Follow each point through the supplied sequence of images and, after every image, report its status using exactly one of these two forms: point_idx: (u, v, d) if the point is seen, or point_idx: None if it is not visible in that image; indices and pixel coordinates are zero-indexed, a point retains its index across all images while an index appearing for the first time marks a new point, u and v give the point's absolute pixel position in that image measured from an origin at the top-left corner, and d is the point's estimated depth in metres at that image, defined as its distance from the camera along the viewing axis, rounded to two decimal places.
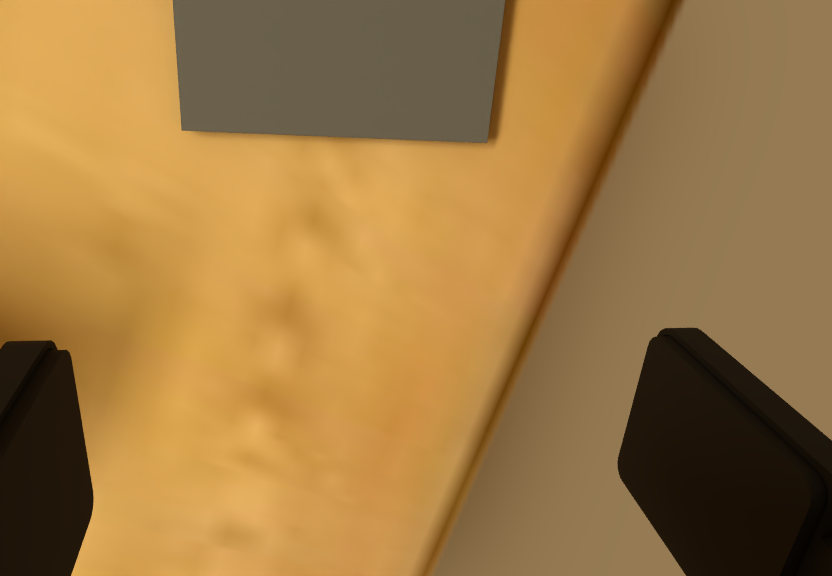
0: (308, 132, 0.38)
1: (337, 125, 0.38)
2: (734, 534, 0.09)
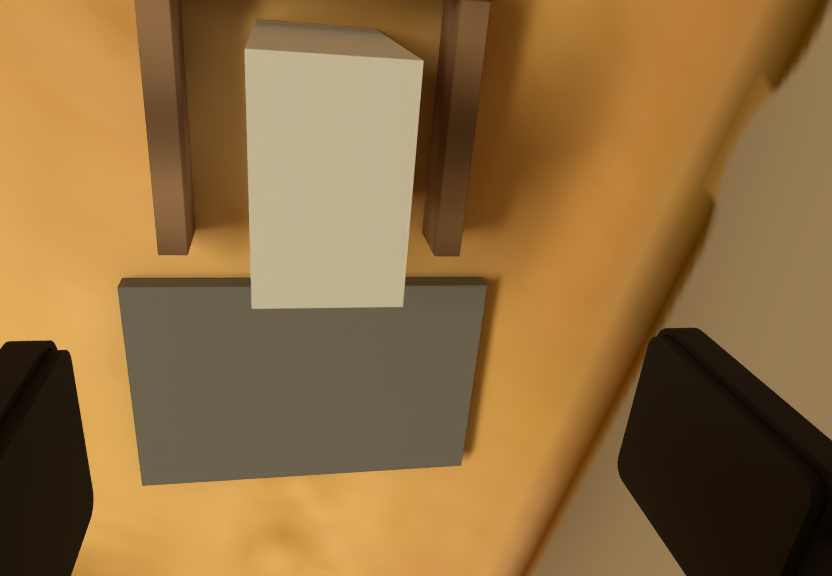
0: (275, 474, 0.37)
1: (305, 466, 0.37)
2: (734, 534, 0.09)
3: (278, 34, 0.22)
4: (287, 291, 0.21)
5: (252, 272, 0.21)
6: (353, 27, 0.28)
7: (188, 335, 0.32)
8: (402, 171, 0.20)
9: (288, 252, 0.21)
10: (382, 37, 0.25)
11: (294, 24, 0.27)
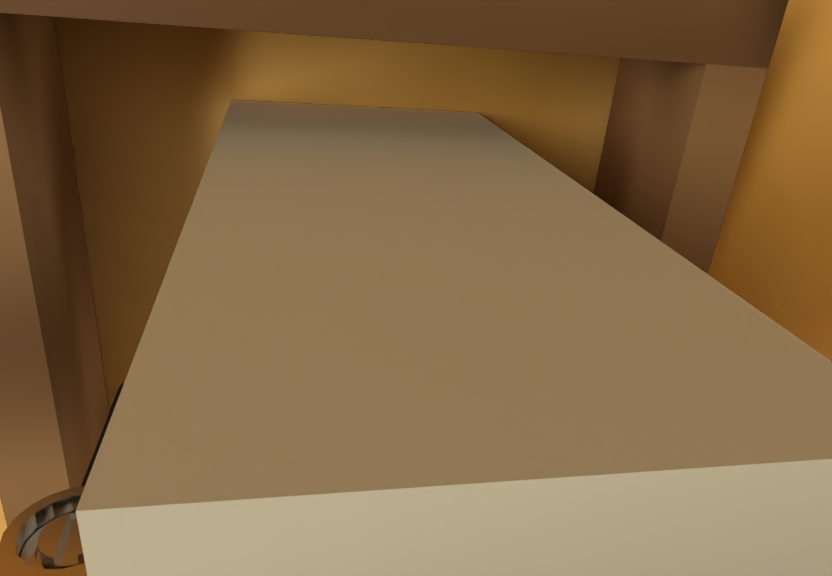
0: None
1: None
2: None
3: (279, 195, 0.07)
4: None
5: None
6: (438, 114, 0.13)
7: None
8: None
9: None
10: (538, 165, 0.10)
11: (315, 116, 0.12)
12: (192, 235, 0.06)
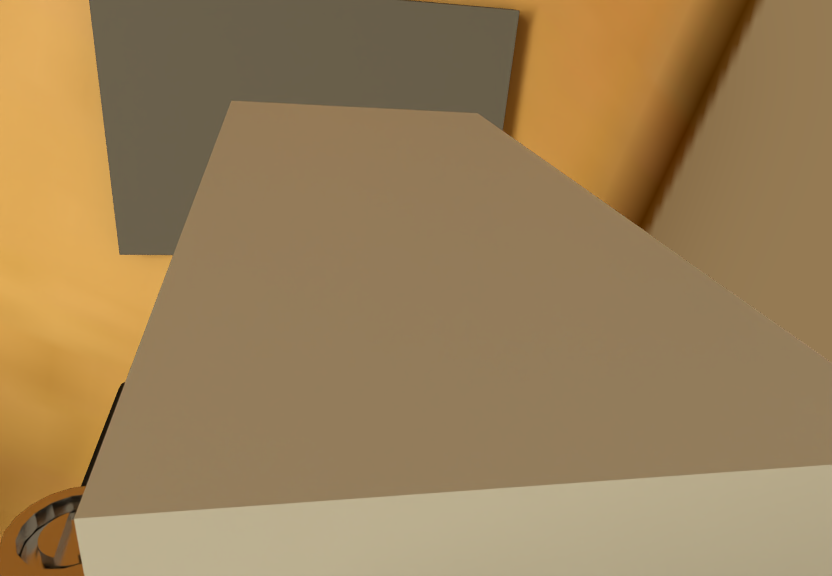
0: None
1: None
2: None
3: (279, 197, 0.07)
4: None
5: None
6: (438, 115, 0.13)
7: (171, 49, 0.27)
8: None
9: None
10: (538, 166, 0.10)
11: (315, 117, 0.12)
12: (191, 237, 0.06)
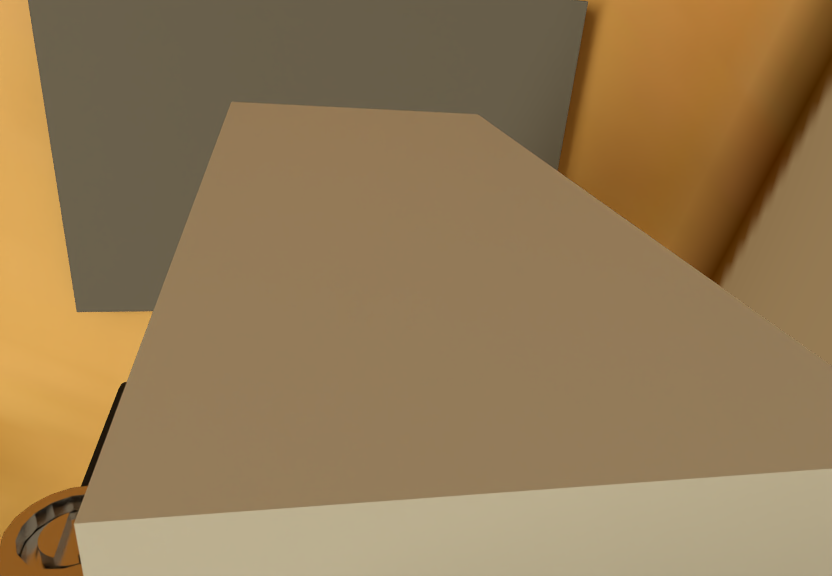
0: None
1: None
2: None
3: (279, 199, 0.07)
4: None
5: None
6: (439, 116, 0.13)
7: (137, 52, 0.21)
8: None
9: None
10: (539, 168, 0.10)
11: (315, 118, 0.12)
12: (192, 240, 0.06)
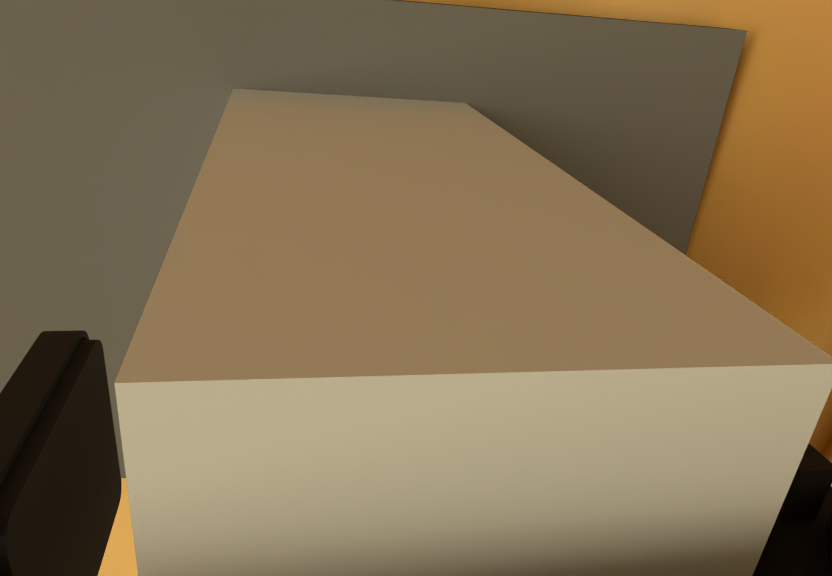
0: None
1: None
2: None
3: (277, 168, 0.08)
4: None
5: None
6: (428, 104, 0.14)
7: (54, 115, 0.13)
8: None
9: None
10: (517, 148, 0.11)
11: (311, 103, 0.13)
12: (200, 197, 0.07)
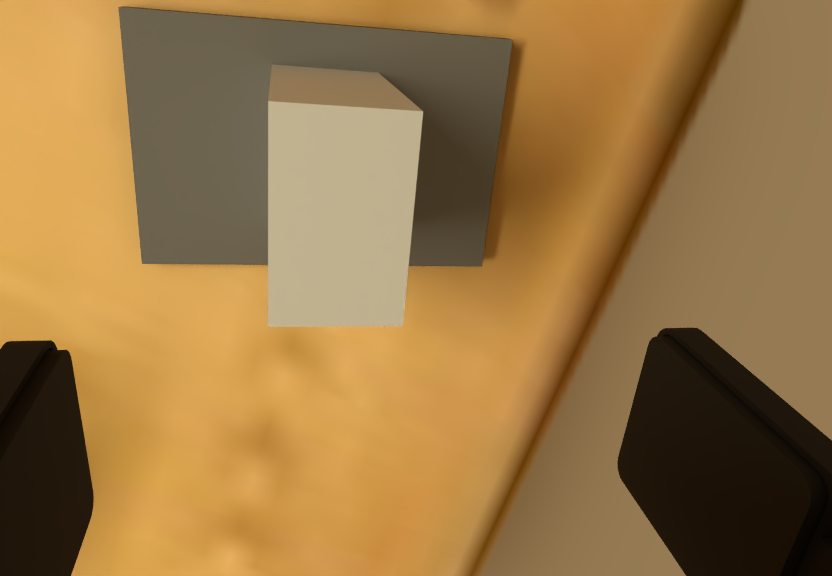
0: None
1: None
2: (734, 534, 0.09)
3: (294, 83, 0.25)
4: (299, 311, 0.24)
5: (269, 294, 0.23)
6: (359, 72, 0.31)
7: (194, 75, 0.30)
8: (403, 206, 0.23)
9: (302, 276, 0.23)
10: (386, 84, 0.27)
11: (306, 70, 0.29)
12: (272, 86, 0.24)
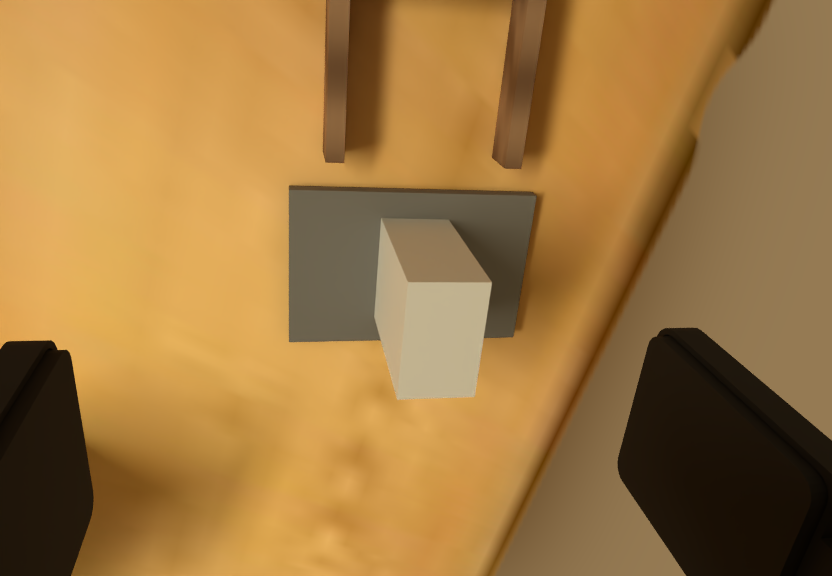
0: None
1: None
2: (734, 534, 0.09)
3: (408, 250, 0.41)
4: (416, 390, 0.40)
5: (399, 381, 0.40)
6: (437, 221, 0.47)
7: (331, 226, 0.46)
8: (478, 331, 0.39)
9: (418, 371, 0.40)
10: (459, 240, 0.44)
11: (405, 224, 0.46)
12: (399, 258, 0.40)
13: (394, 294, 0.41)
